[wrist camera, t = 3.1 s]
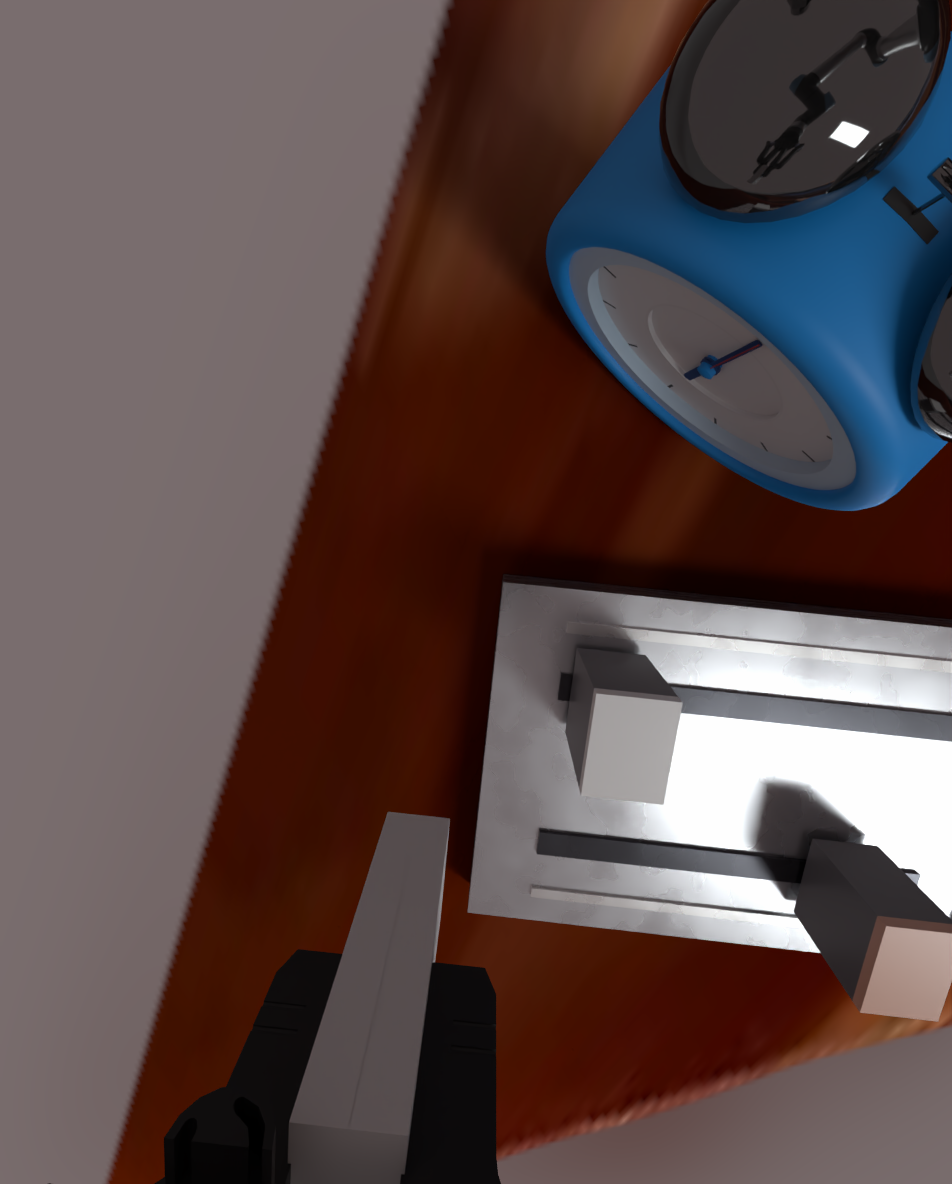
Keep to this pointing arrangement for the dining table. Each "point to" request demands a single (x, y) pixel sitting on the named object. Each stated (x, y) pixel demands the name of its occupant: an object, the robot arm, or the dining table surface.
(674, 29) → the dining table surface
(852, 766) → the console
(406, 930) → the robot arm
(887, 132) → the alarm clock
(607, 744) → the fader white
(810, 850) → the fader terracotta
